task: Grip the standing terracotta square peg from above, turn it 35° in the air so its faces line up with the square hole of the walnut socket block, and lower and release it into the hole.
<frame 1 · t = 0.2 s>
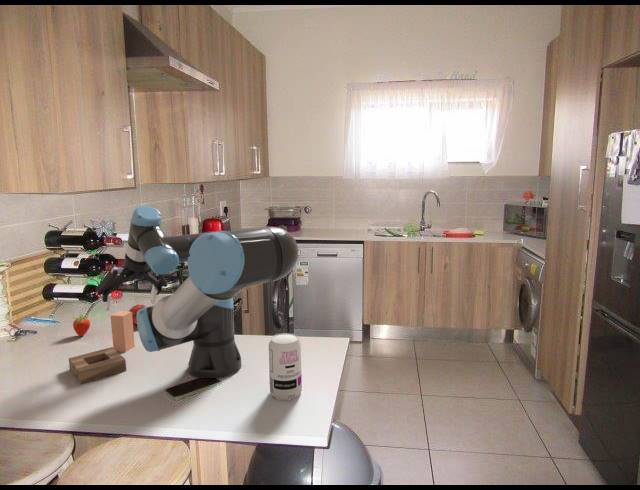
hand: (130, 304, 138), 16 cm above the countertop, tool tilted 35°, fingers open, 13 cm apart
peg: (124, 348, 142), on the countertop
dragon fruit: (142, 325, 165), on the countertop
fruit: (82, 336, 154), on the countertop
socket: (97, 369, 127), on the countertop
supplement can: (285, 394, 113), on the countertop
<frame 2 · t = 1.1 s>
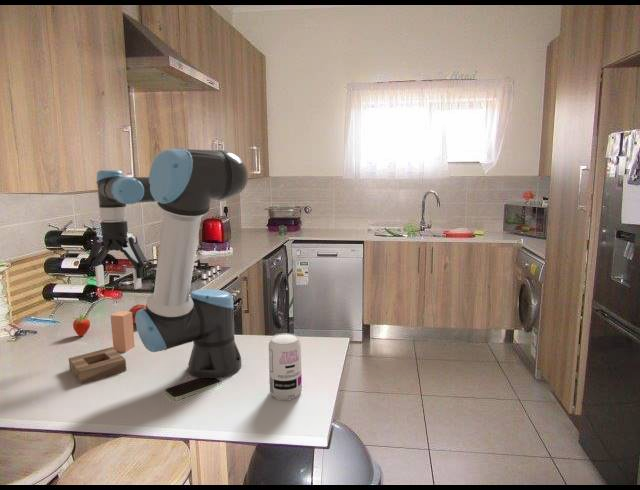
hand: (119, 286, 139), 21 cm above the countertop, tool pointing down, fingers open, 13 cm apart
nothing on the countertop moved.
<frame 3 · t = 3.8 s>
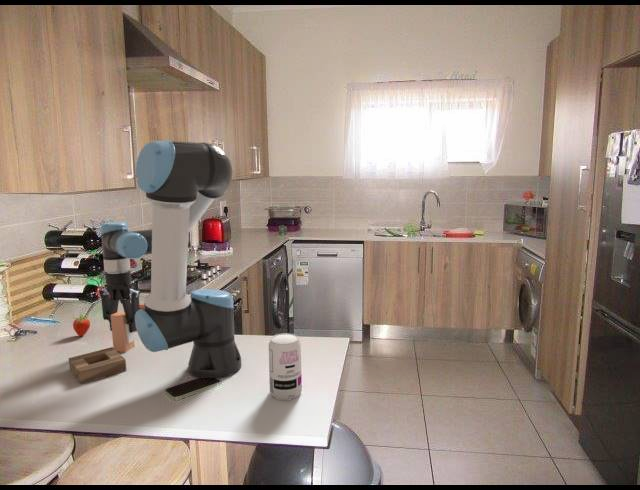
hand: (123, 340, 142), 3 cm above the countertop, tool pointing down, fingers closed on peg, 4 cm apart
peg: (124, 348, 142), on the countertop, touching gripper
everything else where it was.
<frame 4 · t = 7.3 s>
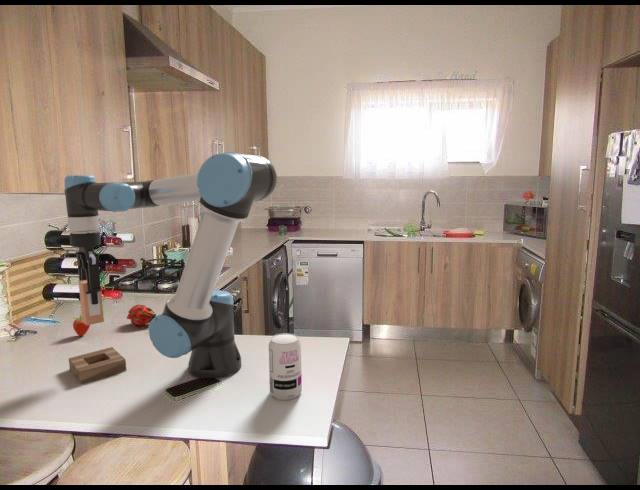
hand: (92, 312, 124), 17 cm above the countertop, tool pointing down, fingers closed on peg, 4 cm apart
peg: (93, 321, 125), point 15 cm above the countertop, touching gripper
everything else where it was.
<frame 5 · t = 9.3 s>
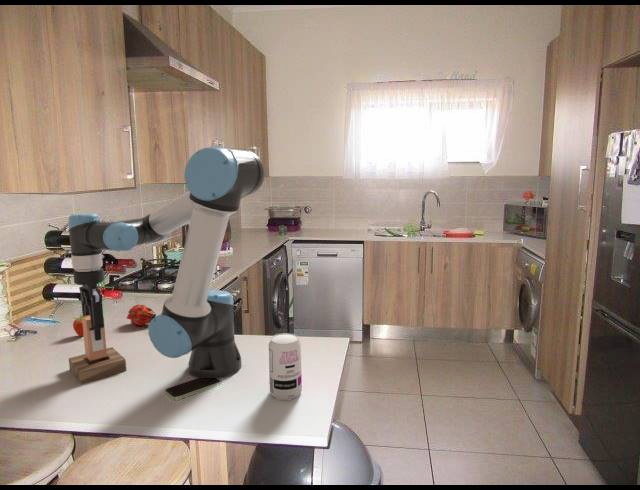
hand: (95, 347, 126), 7 cm above the countertop, tool pointing down, fingers closed on peg, 4 cm apart
peg: (96, 356, 126), point 4 cm above the countertop, touching gripper
everything else where it was.
when the fingers open (5 cm above the countertop, at t = 10.9 s): peg drops 2 cm, resting in socket.
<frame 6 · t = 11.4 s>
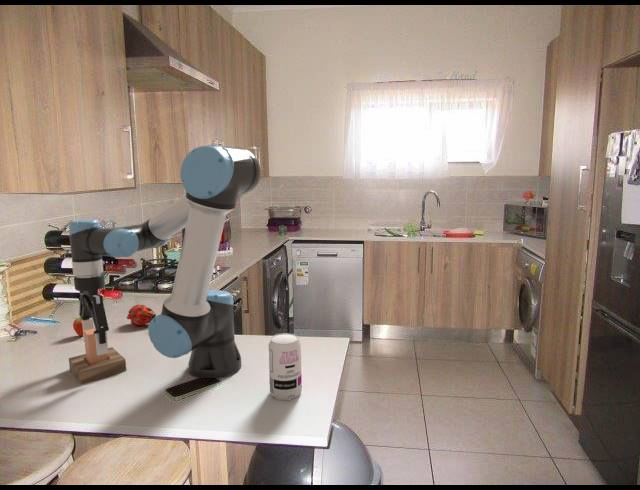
hand: (95, 347, 126), 7 cm above the countertop, tool pointing down, fingers open, 12 cm apart
peg: (98, 370, 127), resting in socket
everything else where it was.
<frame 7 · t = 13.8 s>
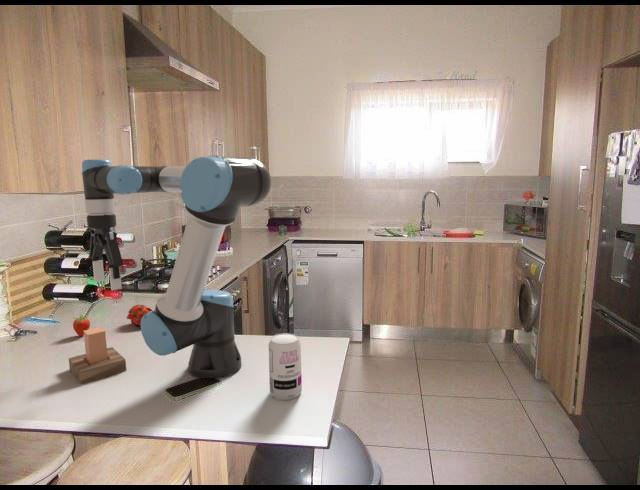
hand: (107, 285, 129), 24 cm above the countertop, tool pointing down, fingers open, 13 cm apart
nothing on the countertop moved.
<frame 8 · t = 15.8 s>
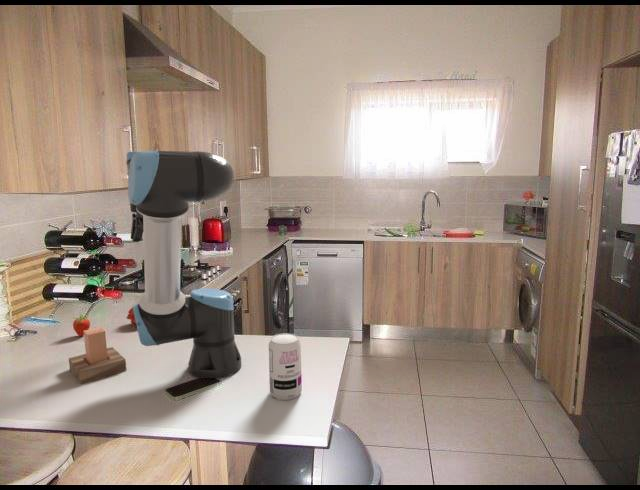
hand: (146, 263, 146), 27 cm above the countertop, tool pointing down, fingers open, 13 cm apart
nothing on the countertop moved.
at the end: peg 0.1 cm off-centre on the socket, point 0.0 cm above the socket's base; peg tilted 0°; the gripper is holding nothing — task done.
